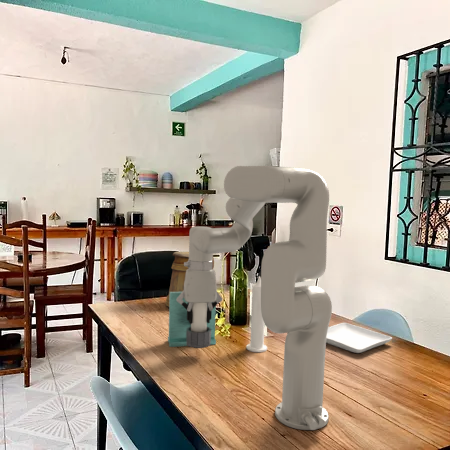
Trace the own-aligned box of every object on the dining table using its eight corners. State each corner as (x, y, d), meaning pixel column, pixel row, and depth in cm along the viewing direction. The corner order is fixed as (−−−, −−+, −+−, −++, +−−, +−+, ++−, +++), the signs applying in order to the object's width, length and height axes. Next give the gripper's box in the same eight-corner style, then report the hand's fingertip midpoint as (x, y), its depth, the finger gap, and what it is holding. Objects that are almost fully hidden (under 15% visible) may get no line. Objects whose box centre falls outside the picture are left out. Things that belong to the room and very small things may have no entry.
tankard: (158, 303, 203) (159, 250, 201) (202, 297, 217) (203, 247, 215) (177, 313, 189) (178, 255, 187) (222, 306, 202) (224, 252, 200)
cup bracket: (225, 359, 138) (226, 303, 137) (174, 362, 135) (175, 305, 133) (212, 338, 158) (213, 289, 156) (167, 340, 154) (168, 290, 152)
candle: (266, 353, 145) (269, 279, 143) (244, 351, 146) (247, 277, 144) (268, 346, 152) (271, 275, 150) (248, 344, 153) (250, 273, 151)
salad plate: (359, 359, 144) (359, 348, 143) (308, 340, 160) (309, 331, 160) (393, 346, 157) (394, 336, 157) (343, 330, 173) (344, 321, 173)
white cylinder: (207, 340, 138) (208, 296, 137) (192, 341, 137) (193, 297, 136) (204, 335, 143) (205, 293, 142) (189, 335, 142) (190, 293, 141)
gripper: (175, 268, 132) (173, 327, 134) (229, 267, 136) (227, 324, 138) (172, 263, 140) (170, 319, 141) (224, 263, 144) (222, 317, 145)
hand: (199, 321), depth 139 cm, fingers closed on white cylinder, 5 cm apart
